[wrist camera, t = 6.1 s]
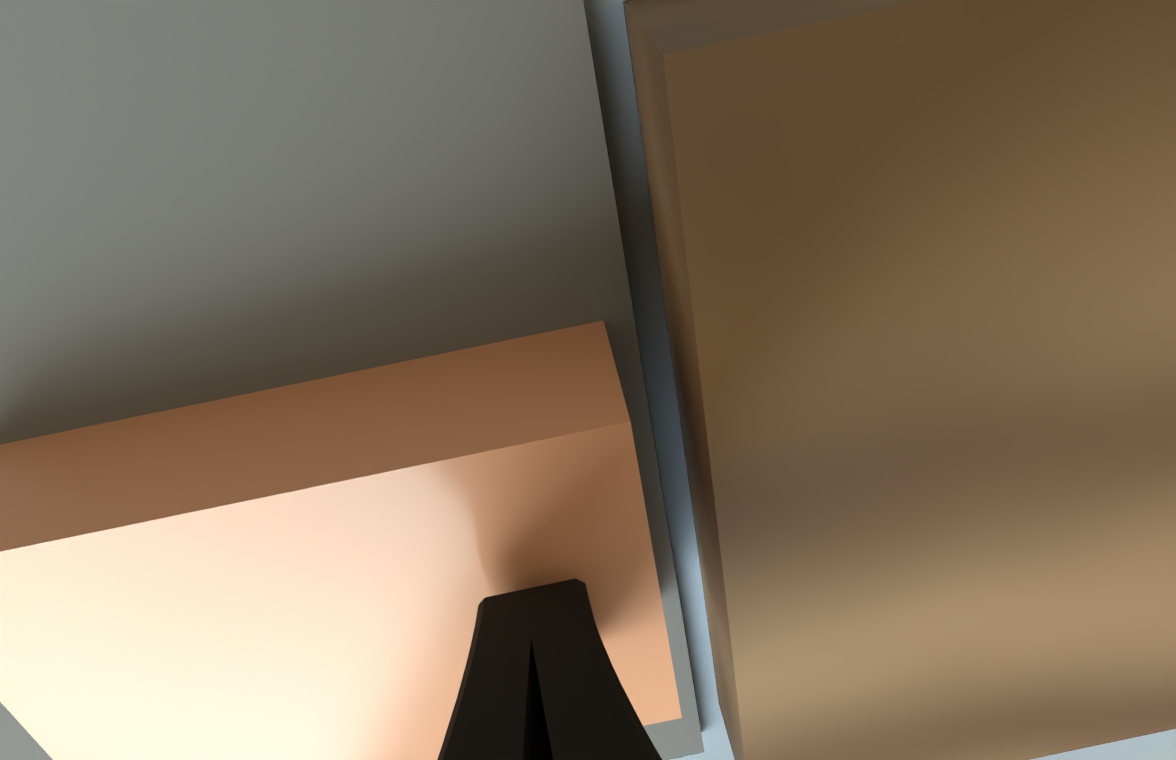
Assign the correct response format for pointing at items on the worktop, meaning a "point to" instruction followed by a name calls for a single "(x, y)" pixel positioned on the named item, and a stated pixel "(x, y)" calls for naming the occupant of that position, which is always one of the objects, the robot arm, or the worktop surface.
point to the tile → (320, 556)
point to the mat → (301, 212)
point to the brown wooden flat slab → (923, 364)
